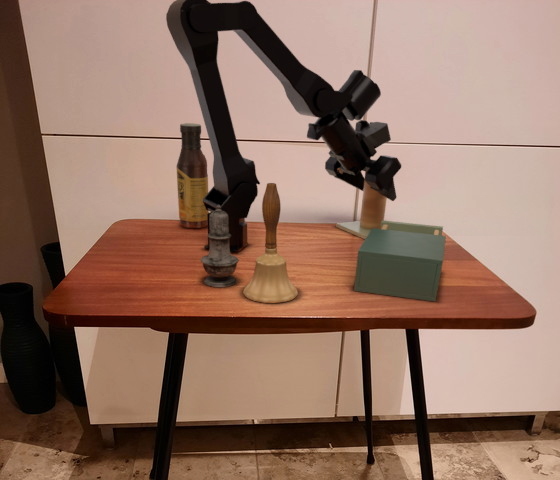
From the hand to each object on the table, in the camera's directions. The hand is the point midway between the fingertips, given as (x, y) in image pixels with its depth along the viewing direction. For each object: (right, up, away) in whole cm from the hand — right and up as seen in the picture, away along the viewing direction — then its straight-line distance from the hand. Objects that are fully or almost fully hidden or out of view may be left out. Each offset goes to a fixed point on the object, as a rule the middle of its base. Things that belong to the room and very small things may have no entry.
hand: (380, 194), depth 115 cm
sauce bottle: (-39, -6, +1) cm, 40 cm away
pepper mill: (-2, -6, +3) cm, 7 cm away
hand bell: (-23, -26, -32) cm, 47 cm away
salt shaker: (-31, -23, -28) cm, 48 cm away
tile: (-1, -7, +3) cm, 7 cm away
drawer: (+2, -16, -15) cm, 22 cm away
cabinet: (-2, -22, -25) cm, 34 cm away
